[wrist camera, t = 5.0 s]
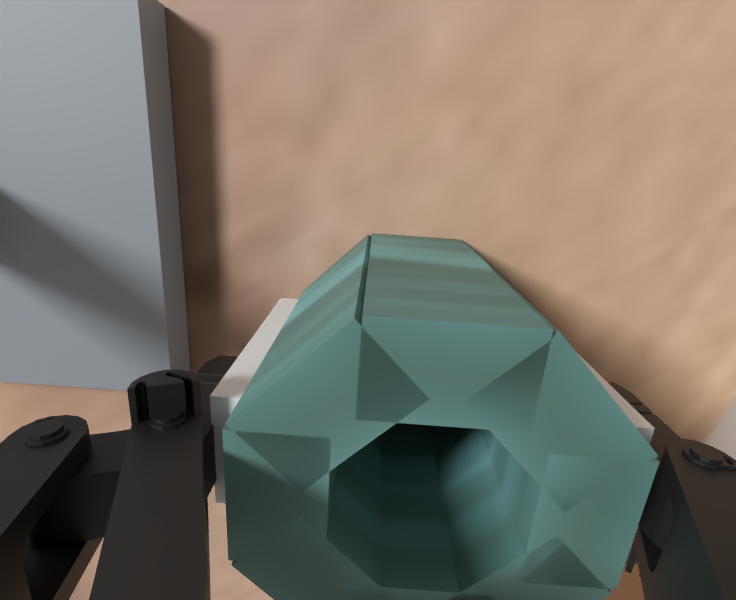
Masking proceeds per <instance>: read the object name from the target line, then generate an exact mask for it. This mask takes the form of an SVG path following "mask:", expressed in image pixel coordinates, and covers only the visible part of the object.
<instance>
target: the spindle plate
mask: <svg viewBox="0 0 736 600" xmlns="http://www.w3.org/2000/svg"><path fill="white" fill-rule="evenodd" d="M174 369H180V370H185V371H190V372H191V368H190V354H189V340H188V327H187V313H186V299H185V285H184V271H183V257H182V243H181V229H180V215H179V201H178V187H177V173H176V159H175V145H174V131H173V117H172V103H171V89H170V75H169V61H168V47H167V33H166V19H165V6H164V5H163V4H161V3H160V2H159V1H157V0H0V382H13V383H27V384H41V385H54V386H68V387H82V388H95V389H109V390H123V391H127V388H128V387H129V386H130V384H131V383H132V382H133V381H135V380H136V379H138V378H139V377H141V376H144V375H146V374H149V373H152V372H156V371H162V370H174Z"/></svg>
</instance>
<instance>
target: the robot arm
mask: <svg viewBox="0 0 736 600" xmlns="http://www.w3.org/2000/svg"><path fill="white" fill-rule="evenodd" d="M298 300H299V299H289V298H280V300H279V301H278V302H277V304H276V305H275V307H274V308H273V309H272V311H271V312H270V314H269V315H268V316H267V318H266V319H265V320H264V322H263V323H262V325H261V326H260V327H259V329H258V330H257V331H256V333H255V334H254V336H253V337H252V338H251V340H250V341H249V342H248V344H247V345H246V347H245V348H244V349H243V351H242V352H241V354H240V355H239V356H238V357H234V356H218V357H216V358H214V359H212V360H210V361H208V362H206V363H205V364H204V365H203V366H202V368H201V369H200V370H199V371H198V372H197V374H194V373H192V372H190V371H185V370H180V369H174V370H162V371H156V372H152V373H149V374H146V375H144V376H141V377H139V378H138V379H136V380H135V381H133V382H132V383H131V384H130V386H129V387H128V388H127V391H128V399H129V406H130V414H131V422H132V426H131V429H129V430H123V431H117V432H109V433H101V434H93V435H90V434H89V428H88V425H87V422H86V420H84V419H82V418H80V417H78V416H70V415H62V416H51V417H46V418H45V419H44V418H42V419H39V420H36V421H34V422H32V423H30V424H27V425H25V426H23V427H21V428H19V429H18V430H16V431H15V432H14V433H12V434H11V435H9V436H8V437H7V438H6V439H5V440H4V441H3V442H2V443H0V600H69V598H70V596H71V595H72V593H73V591H74V589H75V587H76V585H77V584H78V582H79V580H80V578H81V576H82V575H83V573H84V571H85V569H86V567H87V566H88V564H89V562H90V560H91V558H92V557H93V555H94V553H95V551H96V549H97V548H98V546H99V544H100V542H101V540H102V538H103V537H104V541H103V545H102V549H101V553H100V557H99V562H98V566H97V570H96V574H95V578H94V582H93V586H92V590H91V594H90V598H89V600H210V563H209V523H208V502H207V497H208V495H209V493H210V491H211V489H212V487H213V485H214V483H215V496H216V502H218V503H226V497H225V476H224V455H223V434H222V429H223V428H224V426H225V423H226V421H227V420H228V418H229V416H230V415H231V413H232V411H233V410H234V408H235V406H236V404H237V403H238V401H239V399H240V398H241V396H242V394H243V393H244V391H245V389H246V388H247V386H248V384H249V383H250V381H251V379H252V378H253V376H254V374H255V372H256V371H257V369H258V367H259V366H260V364H261V362H262V361H263V359H264V357H265V356H266V354H267V352H268V351H269V349H270V347H271V346H272V344H273V342H274V340H275V339H276V337H277V335H278V334H279V332H280V330H281V329H282V327H283V325H284V324H285V322H286V320H287V319H288V317H289V315H290V314H291V312H292V310H293V309H294V307H295V305H296V303H297V302H298ZM575 352H576V351H575ZM576 353H577V352H576ZM577 354H578V353H577ZM578 355H579V354H578ZM579 357H580V358H581V359H582V360H583V362H584V363H585V364H586V365H587V367H588V368H589V369H590V370H591V372H592V373H593V374H594V375H595V377H596V378H597V379H598V380H599V382H600V383H601V384H602V386H603V387H604V388H605V389H606V391H607V392H608V393H609V394H610V396H611V397H612V398H613V399H614V401H615V402H616V403H617V404H618V406H619V407H620V408H621V409H622V411H623V412H624V413H625V414H626V416H627V417H628V418H629V419H630V421H631V422H632V423H633V425H634V426H635V427H636V428H637V430H638V431H639V432H640V433H641V435H642V436H643V437H644V438H645V440H646V441H647V442H648V443H649V445H650V446H651V447H652V448H653V450H654V451H655V452H656V453H657V455H658V457H656V459H657V460H658V461H659V465H658V468H657V471H656V474H655V477H654V480H653V483H652V486H651V489H650V492H649V495H648V498H647V501H646V504H645V507H644V509H643V512H642V515H641V518H640V521H639V524H638V525H639V527H638V530H637V533H636V536H635V539H634V542H633V545H632V548H631V551H630V553H629V556H628V560H627V562H626V569H625V571H627V572H629V573H631V571H632V569H633V566H634V565H635V564H637V563H638V566H639V571H640V575H639V576H640V577H641V582H642V586H643V592H644V597H645V600H736V460H734V459H733V458H732V457H730V456H728V455H727V454H725V453H724V452H722V451H720V450H718V449H716V448H714V447H711V446H709V445H706V444H703V443H700V442H697V441H693V440H687V439H681V438H680V437H679V436H677V435H676V434H675V433H674V432H673V431H672V430H671V429H670V428H669V427H668V426H667V425H666V424H664V423H663V422H662V421H661V420H660V419H659V418H658V417H657V416H656V415H653V414H652V412H651V411H650V410H649V409H648V408H647V407H646V406H644V405H643V403H642V402H641V401H639V400H638V399H637V398H636V397H635V396H634V395H633V394H632V393H631V392H629V391H627V390H625V389H624V388H622V387H620V386H618V385H617V384H615V383H612V382H606V381H605V380H604V379H603V378H602V377H601V376H600V375H599V374H598V373H597V372H596V371H595V370H594V369H593V368H592V367H591V366H590V365H589V364H588V363H587V362H586V361H585V360H584V359H583V358H582V357H581V356H580V355H579Z"/></svg>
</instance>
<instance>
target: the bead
mask: <svg viewBox="0 0 736 600" xmlns="http://www.w3.org/2000/svg"><path fill="white" fill-rule="evenodd" d="M222 434H223V455H224V476H225V497H226V518H227V539H228V560H233V562H232V566H233V567H234V568H236V569H237V570H238V571H239V572H241V573H242V574H243V575H244V576H246V577H247V578H248V579H249V580H250V581H252V582H253V583H254V584H255V585H257V586H258V587H259V588H260V589H262V590H263V591H264V592H265V593H267V594H268V595H269V596H270V597H272V598H273V599H274V600H602V599H603V598H606V597H608V596H609V595H611V594H612V593H611V591H610V590H609V589H614V590H616V589H617V586H618V583H619V580H620V577H621V574H622V571H623V568H624V565H625V562H626V560H627V557H628V554H629V551H630V548H631V545H632V542H633V539H634V536H635V533H636V530H637V527H638V524H639V521H640V518H641V515H642V512H643V509H644V507H645V504H646V501H647V498H648V495H649V492H650V489H651V486H652V483H653V480H654V477H655V474H656V471H657V468H658V465H659V461H658V460H657V459H656V457H658V455H657V453H656V452H655V451H654V450H653V448H652V447H651V446H650V445H649V443H648V442H647V441H646V440H645V438H644V437H643V436H642V435H641V433H640V432H639V431H638V430H637V428H636V427H635V426H634V425H633V423H632V422H631V421H630V419H629V418H628V417H627V416H626V414H625V413H624V412H623V411H622V409H621V408H620V407H619V406H618V404H617V403H616V402H615V401H614V399H613V398H612V397H611V396H610V394H609V393H608V392H607V391H606V389H605V388H604V387H603V386H602V384H601V383H600V382H599V380H598V379H597V378H596V377H595V375H594V374H593V373H592V372H591V370H590V369H589V368H588V367H587V365H586V364H585V363H584V362H583V360H582V359H581V358H580V357H579V355H578V354H577V353H576V352H575V350H574V349H573V348H572V347H571V345H570V344H569V343H568V341H567V340H566V339H565V338H564V336H563V335H562V334H561V333H560V332H559V331H558V330H557V329H556V328H555V327H554V326H553V325H552V324H551V323H550V322H549V321H548V320H547V319H545V318H544V317H543V316H542V315H541V314H540V313H539V312H538V311H537V310H536V309H535V308H534V307H533V306H532V305H531V304H530V303H529V302H528V301H527V300H525V299H524V298H523V297H522V296H521V295H520V294H519V293H518V292H517V291H516V290H515V289H514V288H513V287H512V286H511V285H510V284H509V283H508V282H507V281H505V280H504V279H503V278H502V277H501V276H500V275H499V274H498V273H497V272H496V271H495V270H494V269H493V268H492V267H491V266H490V265H489V264H488V263H487V262H485V261H484V260H483V259H482V258H481V257H480V256H479V255H478V254H477V253H476V252H475V251H474V250H473V249H472V248H471V247H470V246H469V245H468V244H467V243H466V242H463V241H462V240H456V239H442V238H428V237H414V236H400V235H386V234H372V238H371V237H370V236H369V235H367V236H366V237H365V238H364V239H363V240H362V241H361V242H359V243H358V244H357V245H356V246H355V247H354V248H352V249H351V250H350V251H349V252H348V253H347V254H346V255H344V256H343V257H342V258H341V259H340V260H339V261H338V262H336V263H335V264H334V265H333V266H332V267H331V268H329V269H328V270H327V271H326V272H325V273H324V274H323V275H321V276H320V277H319V278H318V279H317V280H316V281H315V282H313V283H312V284H311V285H310V286H309V287H308V288H306V289H305V290H304V292H303V293H302V295H301V297H300V298H299V300H298V302H297V303H296V305H295V307H294V309H293V310H292V312H291V314H290V315H289V317H288V319H287V320H286V322H285V324H284V325H283V327H282V329H281V330H280V332H279V334H278V335H277V337H276V339H275V340H274V342H273V344H272V346H271V347H270V349H269V351H268V352H267V354H266V356H265V357H264V359H263V361H262V362H261V364H260V366H259V367H258V369H257V371H256V372H255V374H254V376H253V378H252V379H251V381H250V383H249V384H248V386H247V388H246V389H245V391H244V393H243V394H242V396H241V398H240V399H239V401H238V403H237V404H236V406H235V408H234V410H233V411H232V413H231V415H230V416H229V418H228V420H227V421H226V423H225V426H224V428H223V429H222Z"/></svg>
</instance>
